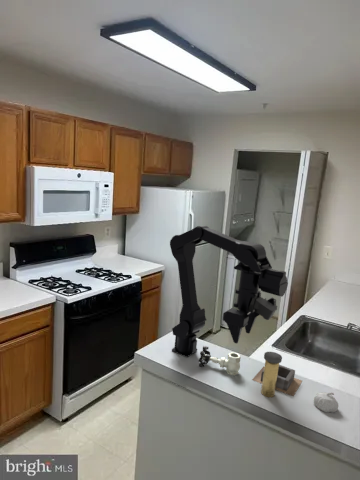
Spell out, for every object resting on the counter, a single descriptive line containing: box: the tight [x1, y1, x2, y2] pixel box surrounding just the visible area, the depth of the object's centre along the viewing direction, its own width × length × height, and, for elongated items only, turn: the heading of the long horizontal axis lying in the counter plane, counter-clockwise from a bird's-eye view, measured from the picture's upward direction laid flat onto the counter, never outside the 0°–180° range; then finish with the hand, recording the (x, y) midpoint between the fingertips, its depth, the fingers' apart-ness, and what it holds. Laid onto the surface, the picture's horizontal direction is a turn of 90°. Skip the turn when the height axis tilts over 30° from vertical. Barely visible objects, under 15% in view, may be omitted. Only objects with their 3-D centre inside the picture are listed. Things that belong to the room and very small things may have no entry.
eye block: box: [251, 364, 303, 397], centre depth 102 cm, size 12×10×4 cm
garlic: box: [313, 392, 339, 413], centre depth 92 cm, size 6×5×5 cm
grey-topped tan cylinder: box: [260, 351, 283, 398], centre depth 95 cm, size 5×5×12 cm
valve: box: [198, 345, 241, 377], centre depth 106 cm, size 7×7×12 cm
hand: (242, 337), depth 103 cm, fingers open, 9 cm apart
